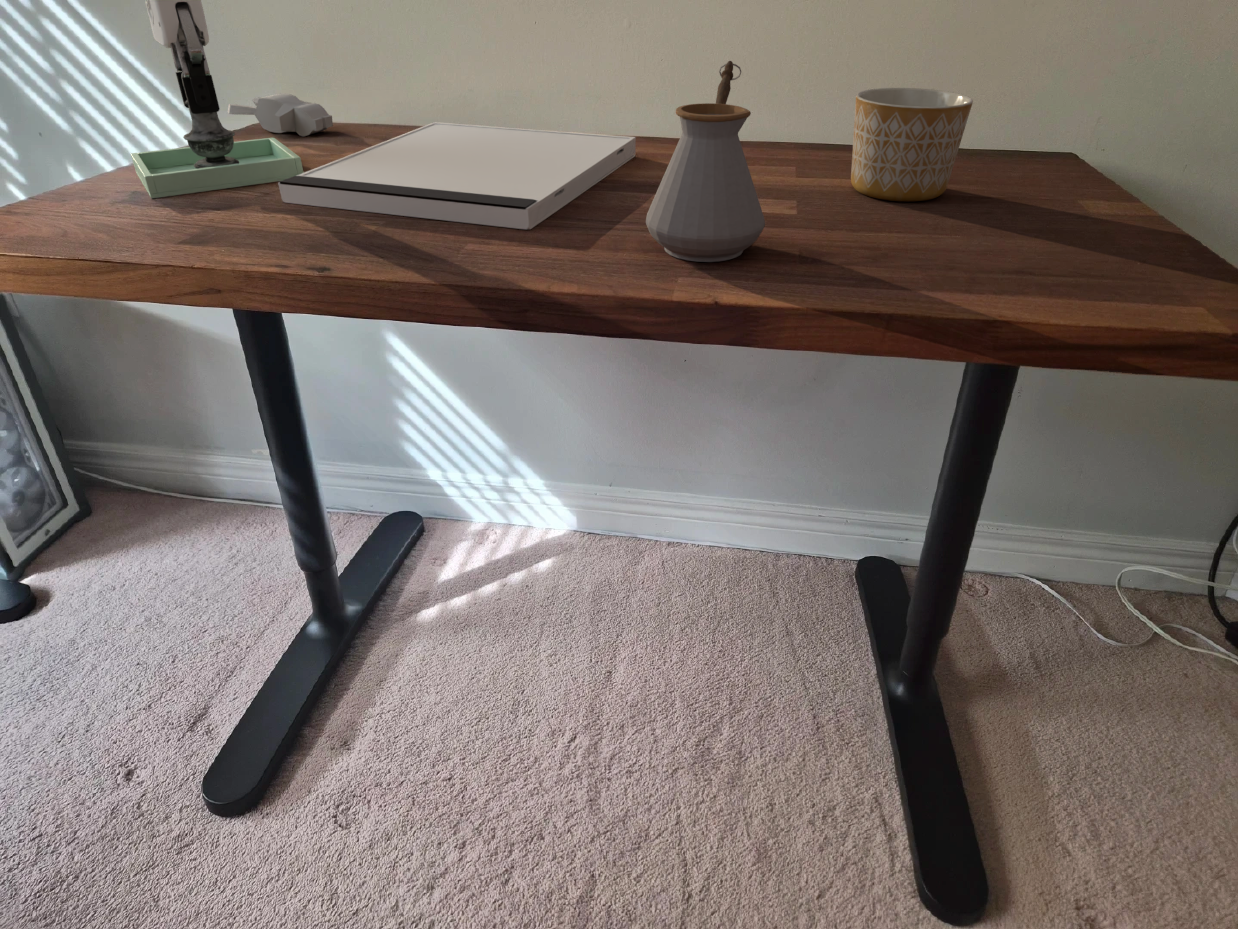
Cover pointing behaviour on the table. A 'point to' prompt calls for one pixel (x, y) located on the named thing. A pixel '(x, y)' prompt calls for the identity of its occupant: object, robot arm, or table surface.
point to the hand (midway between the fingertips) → (201, 107)
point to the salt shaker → (210, 140)
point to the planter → (906, 142)
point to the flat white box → (465, 174)
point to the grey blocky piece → (286, 114)
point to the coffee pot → (707, 185)
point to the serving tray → (215, 168)
